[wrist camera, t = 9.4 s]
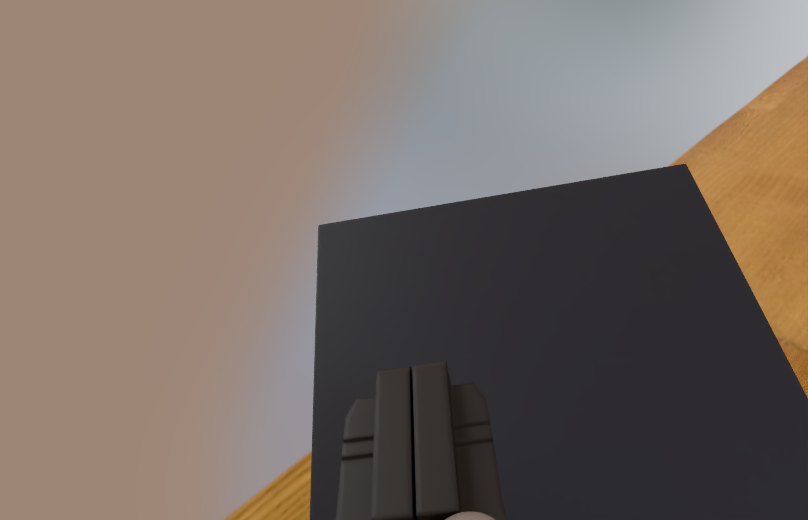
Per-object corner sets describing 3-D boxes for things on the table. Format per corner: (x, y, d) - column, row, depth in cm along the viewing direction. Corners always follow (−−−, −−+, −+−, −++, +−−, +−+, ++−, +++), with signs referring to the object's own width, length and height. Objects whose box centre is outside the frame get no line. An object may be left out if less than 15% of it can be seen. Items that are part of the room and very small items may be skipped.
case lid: (323, 237, 24) (318, 224, 23) (682, 178, 22) (686, 162, 22) (312, 798, 14) (300, 801, 13) (967, 747, 12) (990, 748, 12)
